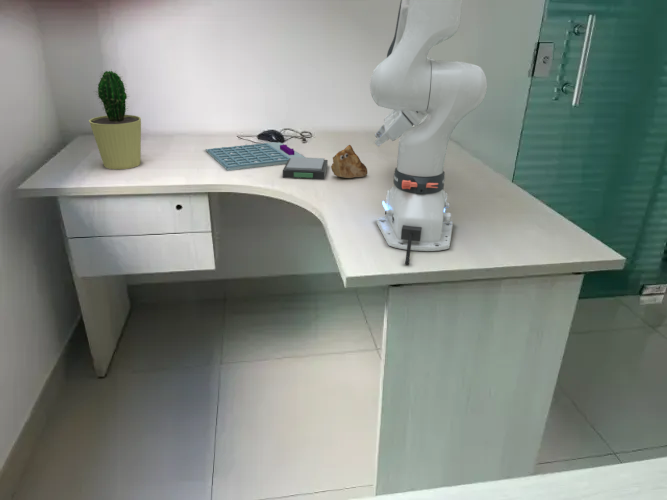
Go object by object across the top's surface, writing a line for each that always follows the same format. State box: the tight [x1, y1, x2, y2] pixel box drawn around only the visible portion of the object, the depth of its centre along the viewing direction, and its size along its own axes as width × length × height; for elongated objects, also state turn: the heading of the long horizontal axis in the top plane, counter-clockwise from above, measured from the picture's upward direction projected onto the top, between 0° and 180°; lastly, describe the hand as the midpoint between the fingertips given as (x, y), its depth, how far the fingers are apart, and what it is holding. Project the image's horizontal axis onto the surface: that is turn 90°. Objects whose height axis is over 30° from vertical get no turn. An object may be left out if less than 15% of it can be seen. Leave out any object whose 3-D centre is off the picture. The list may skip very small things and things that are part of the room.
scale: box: [282, 156, 329, 180], centre depth 169 cm, size 14×13×3 cm
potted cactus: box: [88, 68, 142, 170], centre depth 166 cm, size 15×15×30 cm
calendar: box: [205, 141, 305, 171], centre depth 185 cm, size 27×29×2 cm
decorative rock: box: [330, 144, 368, 179], centre depth 163 cm, size 12×6×11 cm, turn 118°
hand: (376, 140), depth 160 cm, fingers open, 8 cm apart
